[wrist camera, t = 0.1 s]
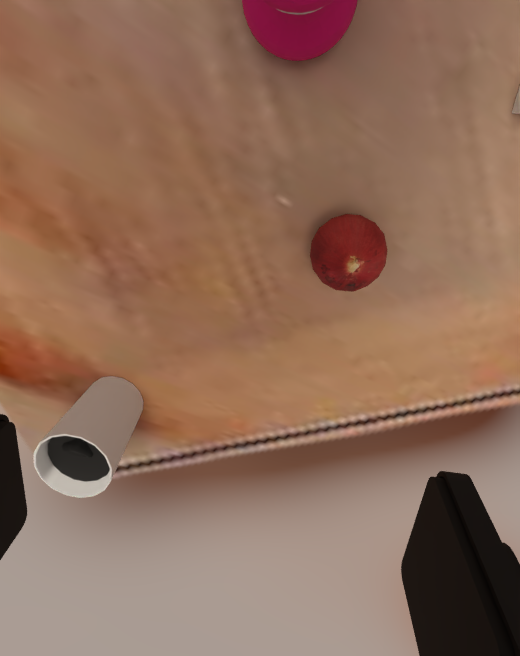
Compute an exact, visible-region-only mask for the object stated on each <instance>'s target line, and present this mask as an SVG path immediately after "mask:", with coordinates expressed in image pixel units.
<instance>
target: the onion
mask: <svg viewBox="0 0 520 656" xmlns="http://www.w3.org/2000/svg"><path fill="white" fill-rule="evenodd" d="M386 256H387V246H386V241H385V236H384V233H383V232H382V231H381V230H380V228H379V227H378V226H377V225H376V223H375V222H373V221H371V220H369V219H367V218H365V217H363V216H361V215H352V214H345V215H341V216H338V217H334V218H332V219H331V220H329V221H328V222H327V223H325V224H324V225H323V226H321V227H320V228H319V229H318V231H317V233H316V235H315V236H314V238H313V240H312V243H311V252H310V257H311V262H312V267H313V270H314V271H315V273H316V274H317V275H318V277H319V278H320V279H321V281H322V282H323V283H325V284H326V285H328V286H330V287H332V288H333V289H335V290H343V291H356V290H358V289H361V288H363V287H366V286H368V285H369V284H370V283H371V282H373V281H374V280H375V279H376V278H378V276H379V275H380V273H381V271H382V270H383V268H384V266H385V263H386Z"/></svg>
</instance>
